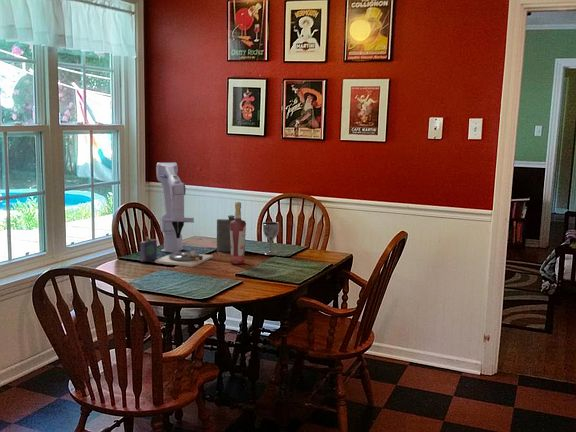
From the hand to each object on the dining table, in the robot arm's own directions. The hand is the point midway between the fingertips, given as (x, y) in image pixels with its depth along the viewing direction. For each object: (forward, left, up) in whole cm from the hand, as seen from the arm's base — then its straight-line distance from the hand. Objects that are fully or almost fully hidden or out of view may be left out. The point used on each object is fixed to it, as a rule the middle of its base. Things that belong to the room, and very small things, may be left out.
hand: (178, 237), depth 284 cm
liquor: (-1, +30, -10) cm, 32 cm away
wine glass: (-27, +36, -10) cm, 46 cm away
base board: (+3, +5, -9) cm, 11 cm away
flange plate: (+3, +6, -8) cm, 11 cm away
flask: (-22, +17, -10) cm, 29 cm away
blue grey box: (+10, -10, -10) cm, 17 cm away
